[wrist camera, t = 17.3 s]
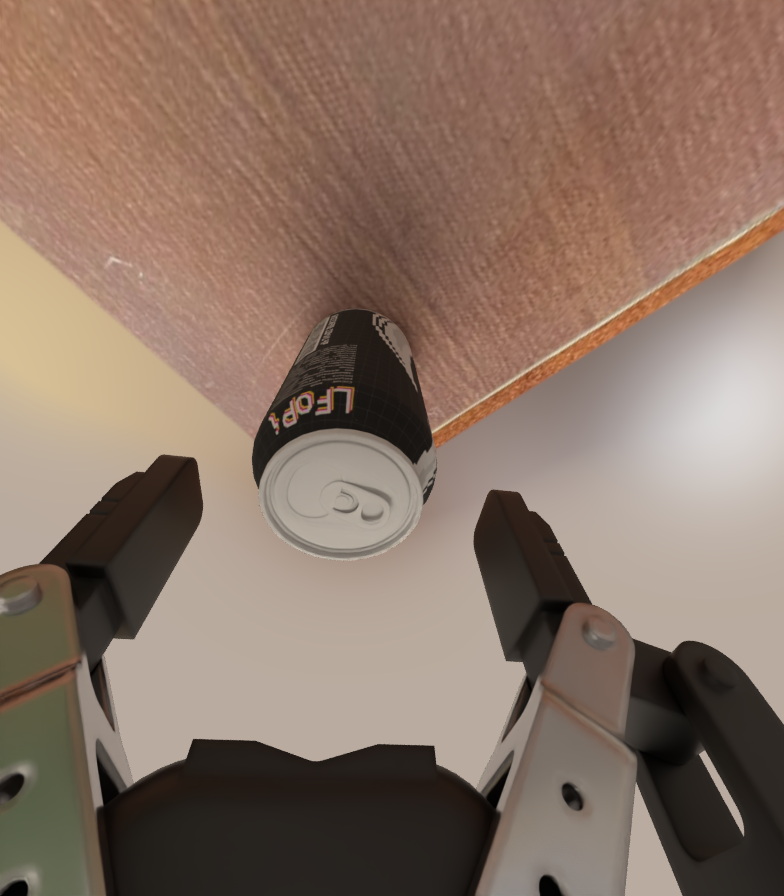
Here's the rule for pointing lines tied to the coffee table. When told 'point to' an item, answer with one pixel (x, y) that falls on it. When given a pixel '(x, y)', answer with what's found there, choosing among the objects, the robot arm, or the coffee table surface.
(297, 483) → the beverage can
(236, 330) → the coffee table surface
